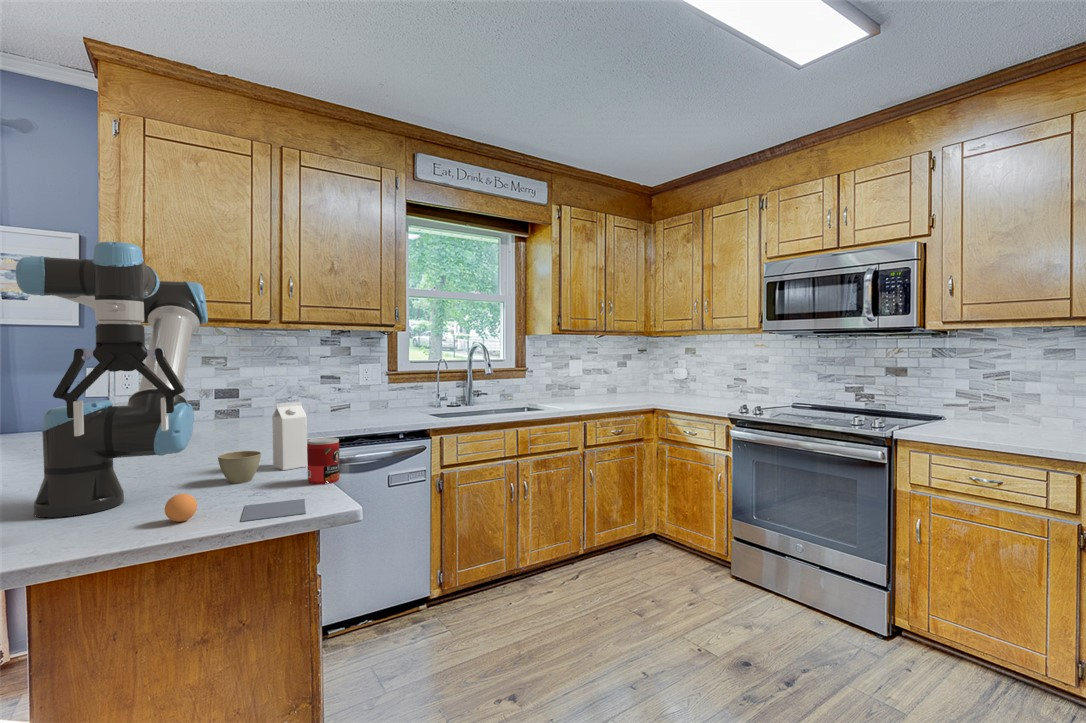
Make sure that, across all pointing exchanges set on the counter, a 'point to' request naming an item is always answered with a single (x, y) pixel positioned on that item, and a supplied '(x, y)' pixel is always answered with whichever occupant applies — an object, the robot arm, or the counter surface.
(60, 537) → the counter surface
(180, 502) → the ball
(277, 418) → the milk carton
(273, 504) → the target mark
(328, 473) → the canned food
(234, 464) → the olive green bowl
